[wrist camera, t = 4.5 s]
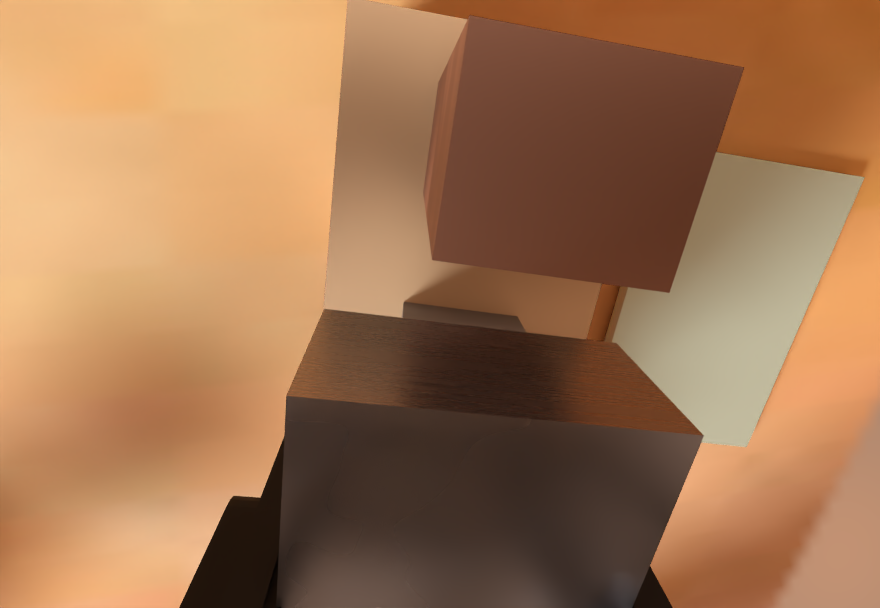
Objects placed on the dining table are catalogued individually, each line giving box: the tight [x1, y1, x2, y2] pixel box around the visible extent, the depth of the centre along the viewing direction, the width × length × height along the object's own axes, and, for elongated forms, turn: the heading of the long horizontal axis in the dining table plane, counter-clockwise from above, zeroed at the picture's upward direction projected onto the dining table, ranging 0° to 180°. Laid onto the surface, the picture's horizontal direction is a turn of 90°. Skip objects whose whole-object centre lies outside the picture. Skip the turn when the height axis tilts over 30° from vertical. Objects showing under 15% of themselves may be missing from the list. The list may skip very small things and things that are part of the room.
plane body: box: [323, 0, 744, 339], centre depth 13 cm, size 20×7×11 cm, turn 171°
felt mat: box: [604, 152, 865, 447], centre depth 18 cm, size 11×7×1 cm, turn 171°
